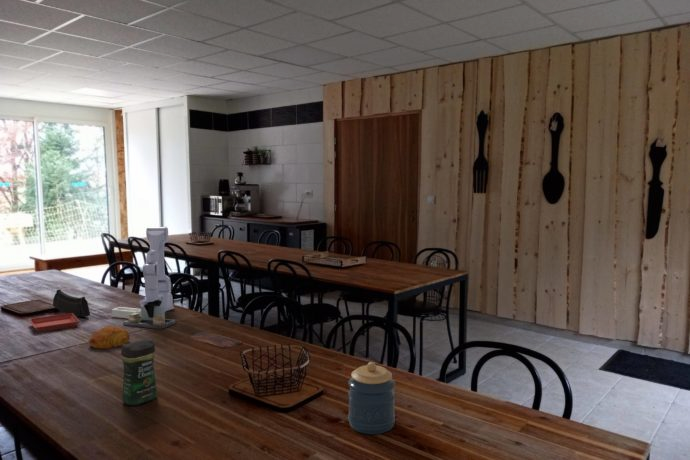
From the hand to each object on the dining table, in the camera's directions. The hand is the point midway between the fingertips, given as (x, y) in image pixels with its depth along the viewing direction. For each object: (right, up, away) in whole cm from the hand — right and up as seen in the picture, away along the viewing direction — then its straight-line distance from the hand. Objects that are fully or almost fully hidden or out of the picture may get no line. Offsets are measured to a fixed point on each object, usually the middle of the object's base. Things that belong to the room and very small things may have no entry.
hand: (152, 316), depth 235 cm
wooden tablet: (+36, -6, -25) cm, 44 cm away
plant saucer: (-44, -4, -4) cm, 45 cm away
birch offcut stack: (-8, -3, -2) cm, 9 cm away
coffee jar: (+28, -12, -82) cm, 87 cm away
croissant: (-7, -6, -29) cm, 31 cm away
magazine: (-48, -2, +17) cm, 51 cm away
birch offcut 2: (+5, -4, -6) cm, 9 cm away
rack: (-1, -3, -2) cm, 4 cm away
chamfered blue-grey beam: (0, -3, 0) cm, 3 cm away
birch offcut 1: (+5, -1, -6) cm, 8 cm away
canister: (+99, -13, -97) cm, 139 cm away
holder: (-16, -2, +11) cm, 20 cm away
